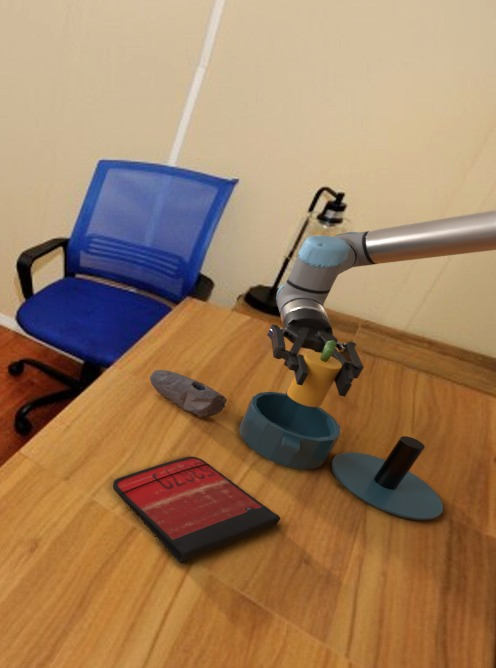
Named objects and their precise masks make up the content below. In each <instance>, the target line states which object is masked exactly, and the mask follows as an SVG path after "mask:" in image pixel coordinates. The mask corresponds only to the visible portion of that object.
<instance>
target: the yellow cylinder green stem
mask: <svg viewBox="0 0 496 668" xmlns="http://www.w3.org/2000/svg"><path fill="white" fill-rule="evenodd" d="M334 348H336V342H335V341H332V340H331V341H327V342H326V344H325V347H324V349H323V352H322V353H319V352H315V351H309V352H306V353H304V355H303V356H304V360H305V364H306V367H307V371H308V375H307V377H306V379H305V381H304V383H303V385H298V384H297V382H296V378H295V376H293V379H292V381H291V383H290V384H289V387H288V389H287V390H288V391H287V390H286V391H287V394H288V396H289V397H290V398H291V399H292V400H294V401H295V402H297V403H299V404H302V405H305V406H309V407H321V406H322V404H323V402H324V401H325V400H326V397H327V396H328V393H329V391H330V389H331V388H332V386H333V384H334V383H335V381H334V380H335V378H336V377H337V375H338V373H339V371H340V369H341V367H342V364H341V362H340V361H338V360H337V359H335V358H334V357H332V354H333V353H334Z"/></svg>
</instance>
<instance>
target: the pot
mask: <svg viewBox="0 0 496 668" xmlns="http://www.w3.org/2000/svg"><path fill="white" fill-rule="evenodd" d="M287 391H288V389H287V390H286V391H285V392H284V393H283V392H278V391H277V392H276V391H263V392H262V391H261V392H258V393H257V394H255V395H253V396H252V397H251V399H250V401H249V404H248V406H247V408H246V410H245V412H244V414H243V417H242V419H241V422H240V426H239V429H238V430H239V431H238V432H239V434H240V437H241V438H242V440H243V441H244V443H245V444H246V445H247V446H248V447H249V448H250V449H252V450H253V451H254V452H255V453H257V454H259V455H260V456H262V457H263V458H265V459H267V460H269V461H271V462H273V463H276V464H278V465H281V466H283V467H287V468H290V469H291V468H292V469H294V470H305V471H307V470H310V471H311V470H316V469H318V468H320V467H321V466H323V464H324V463H325V462H327V459H328V458H329V455H330V454H331V452H332V450H333V449H334V448H335V445H336V444H337V442H338V440H339V438H340V436H341V435H342V434H341V433H342V432H341V431H342V430H341V424H339V423H338V421H337V420H336V418H334V416H333V415H331V414H330V413H329V412H327V411H326V410H325V409H323V408H321V406H319V407H309V406H305V405H302V404H299V403H297V402H295V401H294V400H292V399H291V398H290V397H289V396H288V394H287Z"/></svg>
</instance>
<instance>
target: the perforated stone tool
mask: <svg viewBox="0 0 496 668" xmlns="http://www.w3.org/2000/svg"><path fill="white" fill-rule="evenodd" d="M149 381H150V384H151V386H152V387H153V388H154V390H156V392H158V393H159V394H160V395H161V396H162V397H164V398H166V399H167V400H169V401H170V402H171V403H172V404H175V405H176V406H178V407H179V408H181V409H182V410H184V411H186V412H189V413H191V414H193V415H196V416H197V417H199V418H202V419H203V418H206V417H213V416H215V415H218V414H220V413H221V412H222V411H223V410H224V408H226V403H227V401H228V399H227V398H226V397H225V396H224V395H223V394H222V393H220V392H219V391H216V390H215V389H213V388H212V387H210V386H208V385H207V384H204V383H202V382H201V381H199V380H196V379H194V378H191V377H189V376H186V375H183V374H180V373H177V372H175V371H171V370H168V369H167V370H166V369H155V370H153V371H152V373H151V374H150V375H149Z"/></svg>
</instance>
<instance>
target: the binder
mask: <svg viewBox="0 0 496 668" xmlns="http://www.w3.org/2000/svg"><path fill="white" fill-rule="evenodd" d="M112 488H113V490H114V491H115V493H116V494H117V495H118V496H119V498H121V499H122V500H123V501H124V503H125V504H126V505H127V506H128V507H129V508H130V509H131V510H132V512H133V513H135V514H136V515H137V517H138V518H139V519H140V520H141V521H142V523H143V524H145V525H146V527H148V529H149V530H150V531H151V532H152V533H153V535H154V536H155V537H156V538H157V539H158V540H159V541H160V543H162V545H163V546H164V547H165V548H166V549H167V550H168V552H169V553H171V555H172V556H173V557H174V558H175V559H176V560H177V561H178V562H179V563H184V562H185V561H188V560H191V559H194V558H196V557H199V556H201V555H204V554H207V553H210V552H211V551H214V550H216V549H219V548H222V547H225V546H227V545H229V544H231V543H234V542H237V541H239V540H242V539H244V538H246V537H249V536H252V535H254V534H257V533H259V532H261V531H264V530H266V529H269V528H271V527H275V526H277V525H278V523H279V522H280V521H281V516H280V515H279V514H277V513H275V512H274V511H273V510H271V509H270V508H268V507H267V506H266V505H264V504H263V503H262V502H260V501H259V500H257V499H256V498H255V497H253V496H252V495H251V494H249V493H248V492H247V491H245V490H244V489H242V488H241V487H240V486H239V485H237V484H236V483H235V482H233V481H232V480H231V479H229V478H228V477H227V476H225V475H224V474H223V473H221V472H220V471H218V470H217V469H216V468H214V467H213V466H211V465H210V464H209V463H208V462H207V461H205V460H203V459H202V458H199V457H196V456H186V457H182V458H178V459H173V460H171V461H167V462H164V463H160V464H158V465H154V466H151V467H148V468H145V469H141V470H138V471H136V472H135V471H134V472H132V473H129V474H126V475H123V476H121V477H118V478H116V479H115V480H114V481H113V483H112Z"/></svg>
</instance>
